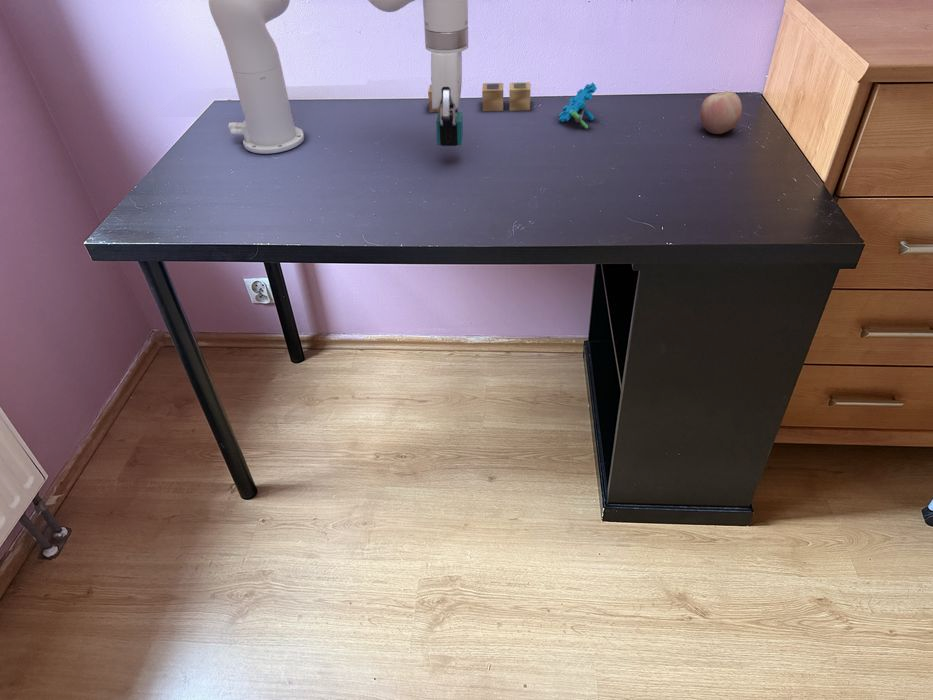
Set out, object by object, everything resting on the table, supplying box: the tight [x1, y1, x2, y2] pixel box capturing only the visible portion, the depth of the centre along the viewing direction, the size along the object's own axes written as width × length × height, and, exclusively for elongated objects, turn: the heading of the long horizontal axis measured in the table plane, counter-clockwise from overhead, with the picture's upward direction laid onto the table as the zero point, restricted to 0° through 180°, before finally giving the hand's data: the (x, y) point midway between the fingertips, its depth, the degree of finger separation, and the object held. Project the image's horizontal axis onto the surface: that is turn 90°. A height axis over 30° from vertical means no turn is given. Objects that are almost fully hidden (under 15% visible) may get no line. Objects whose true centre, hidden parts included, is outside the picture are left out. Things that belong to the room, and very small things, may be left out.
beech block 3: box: [508, 81, 531, 112], centre depth 147 cm, size 5×5×5 cm
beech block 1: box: [427, 84, 440, 113], centre depth 149 cm, size 5×5×5 cm
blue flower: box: [558, 82, 598, 130], centre depth 140 cm, size 11×6×10 cm
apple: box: [699, 90, 743, 135], centre depth 132 cm, size 8×8×8 cm
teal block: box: [435, 111, 464, 146], centre depth 125 cm, size 5×5×5 cm
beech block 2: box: [481, 82, 504, 112], centre depth 148 cm, size 5×5×5 cm
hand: (450, 138), depth 126 cm, fingers closed on teal block, 4 cm apart
